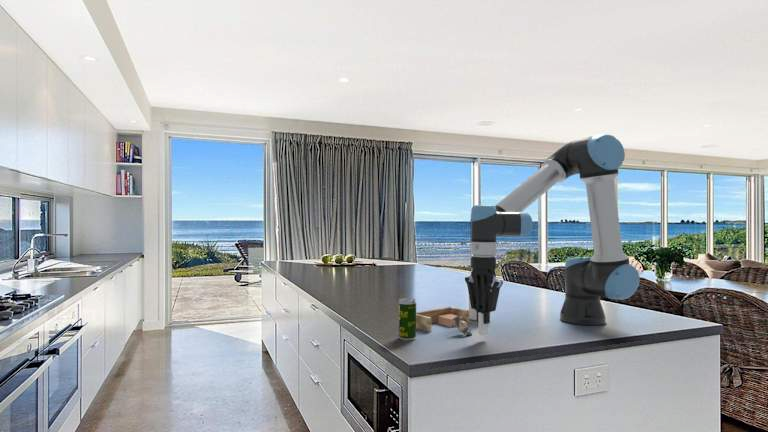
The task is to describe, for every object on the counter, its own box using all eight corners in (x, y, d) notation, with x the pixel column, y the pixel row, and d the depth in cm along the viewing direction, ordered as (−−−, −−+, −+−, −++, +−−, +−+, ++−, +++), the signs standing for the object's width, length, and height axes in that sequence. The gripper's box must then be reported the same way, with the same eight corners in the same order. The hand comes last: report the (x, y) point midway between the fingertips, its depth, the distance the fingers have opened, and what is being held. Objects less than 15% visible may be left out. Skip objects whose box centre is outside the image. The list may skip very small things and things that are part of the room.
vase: (448, 334, 147) (449, 315, 148) (459, 333, 151) (460, 314, 151) (462, 337, 143) (462, 318, 144) (472, 336, 147) (473, 317, 147)
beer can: (405, 335, 146) (405, 297, 146) (419, 338, 143) (419, 299, 143) (395, 338, 142) (395, 299, 142) (409, 341, 138) (409, 301, 139)
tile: (462, 325, 161) (462, 316, 161) (450, 327, 158) (450, 319, 158) (450, 322, 166) (450, 314, 166) (438, 324, 163) (438, 316, 163)
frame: (469, 323, 163) (469, 310, 163) (428, 331, 151) (428, 318, 151) (450, 318, 170) (450, 306, 170) (409, 326, 158) (409, 313, 158)
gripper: (458, 255, 143) (458, 331, 143) (492, 258, 133) (492, 340, 133) (474, 254, 148) (474, 328, 148) (508, 256, 138) (508, 336, 137)
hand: (483, 333), depth 140 cm, fingers closed
